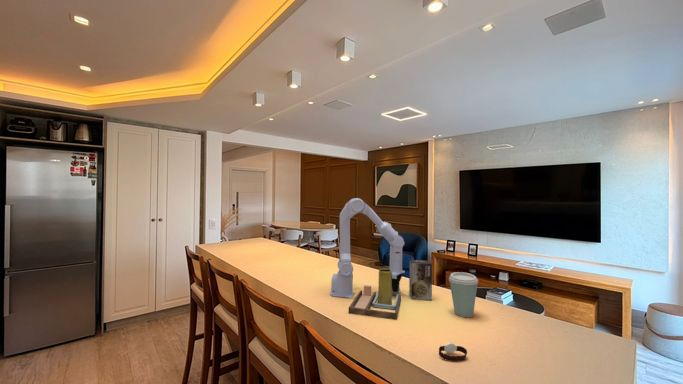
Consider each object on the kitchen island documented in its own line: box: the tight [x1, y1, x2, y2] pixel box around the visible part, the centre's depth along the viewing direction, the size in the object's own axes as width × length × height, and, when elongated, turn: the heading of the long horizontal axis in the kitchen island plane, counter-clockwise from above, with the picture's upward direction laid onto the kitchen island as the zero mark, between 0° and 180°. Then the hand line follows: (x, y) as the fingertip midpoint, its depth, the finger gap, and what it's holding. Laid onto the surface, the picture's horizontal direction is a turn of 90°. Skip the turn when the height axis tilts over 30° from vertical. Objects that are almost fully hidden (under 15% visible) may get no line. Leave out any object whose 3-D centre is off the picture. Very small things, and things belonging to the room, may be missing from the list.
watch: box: [438, 342, 468, 362], centre depth 79 cm, size 8×5×4 cm, turn 92°
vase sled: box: [371, 281, 401, 311], centre depth 122 cm, size 9×20×6 cm, turn 164°
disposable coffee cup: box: [448, 271, 479, 318], centre depth 109 cm, size 11×11×15 cm
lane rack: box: [348, 289, 402, 321], centre depth 115 cm, size 18×22×2 cm
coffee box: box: [408, 259, 433, 301], centre depth 127 cm, size 9×6×16 cm
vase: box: [376, 268, 393, 305], centre depth 117 cm, size 6×6×14 cm
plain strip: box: [355, 284, 373, 309], centre depth 117 cm, size 5×20×5 cm, turn 164°
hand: (395, 290), depth 130 cm, fingers closed on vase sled, 2 cm apart
